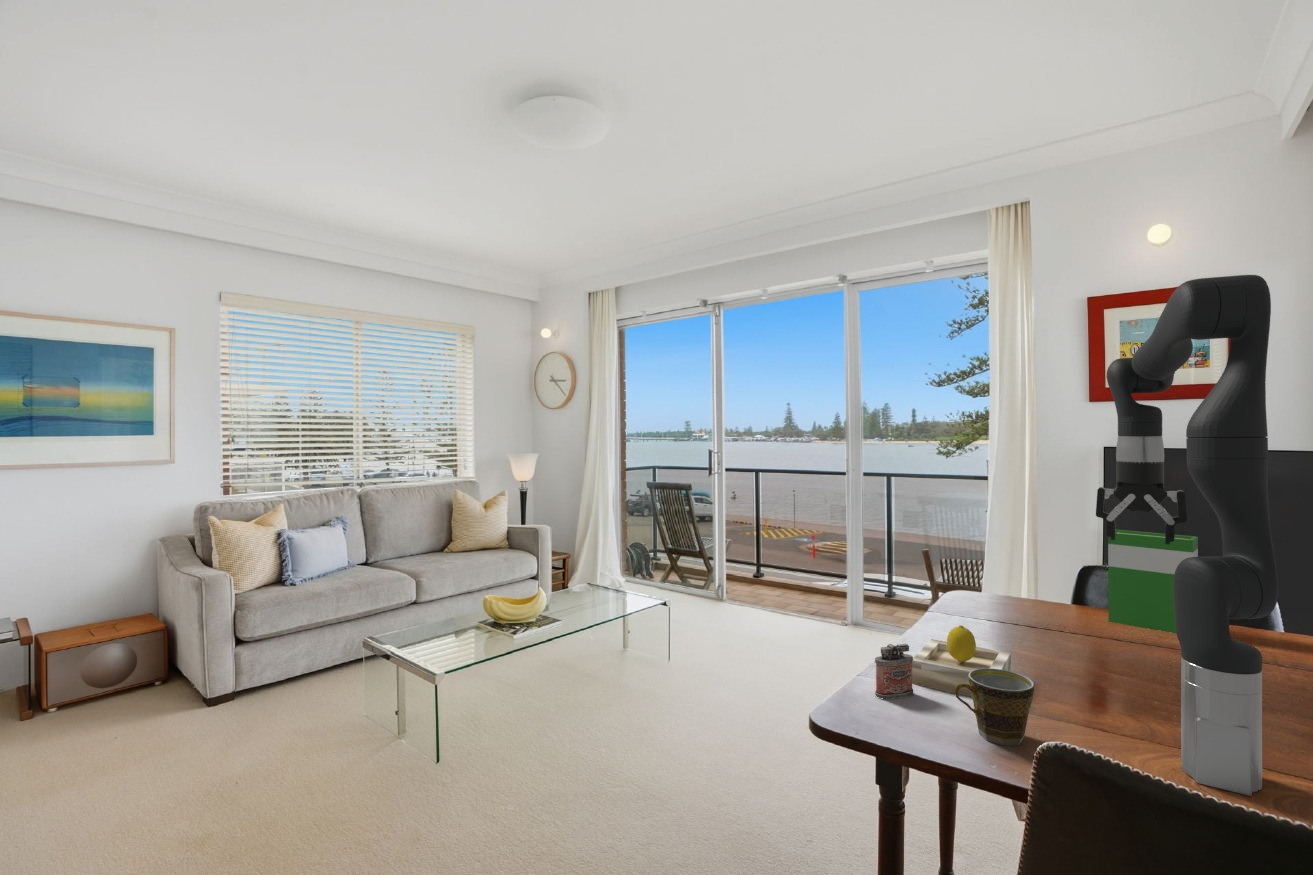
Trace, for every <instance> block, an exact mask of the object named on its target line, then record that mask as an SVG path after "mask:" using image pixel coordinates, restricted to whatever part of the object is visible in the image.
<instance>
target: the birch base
mask: <svg viewBox="0 0 1313 875" xmlns="http://www.w3.org/2000/svg"><path fill="white" fill-rule="evenodd" d="M986 668H989V669H1001V670H1007V671H1011V672H1012V653H1011V652H1007V651H1002V650H996V649H991V648H985V647H984V648H983V647H979V646H976V650H975V654H974V656H973V657H972V658H971V659H970V660H968V661H965V662H964V663H959V661H958V660H956V659H954V658H953V657H952V656H951V655H950V653H949V652H948V649H947V641H945V640H944V641H943V640H939V639H933V638H931V639H930V640H929V641H928V642H927V643H926V644H925V645H924V646H923V647H922V649H920V650H919V651H918V652H917V653H916V654H915V655H914V656H913V662H912V685H918V686H923V687H927V688H930V689H935V690H940V691H944V692H950V693H954V694H955V688H956V686H957V685H958V684H960V683H966V684H968V685H970V684H969V677H968V675H969V673H970V672H971V671H973V670H976V669H986ZM958 695H963V696H967V697H971V698H972V694H971V692H970V690H969V689H968V688H960V689H959V690H958Z"/></svg>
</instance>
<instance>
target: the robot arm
mask: <svg viewBox="0 0 1313 875" xmlns="http://www.w3.org/2000/svg"><path fill="white" fill-rule="evenodd" d="M1271 314H1272V300H1271V292H1270V287H1269V286H1268V282H1267V281H1266V280H1265V279H1264V278H1263V277H1262V276H1260V275H1258V274H1241V275H1239V274H1238V275H1228V276H1227V275H1226V276H1215V277H1214V276H1213V277H1201V278H1196V279H1195V278H1194V279H1190V280H1187V281H1184V282H1183V283H1181V284H1180V285H1179V286H1178V287H1177V288H1176V289H1175V290H1174V291H1173V292H1172V293H1171V295H1170V296H1169V298H1168V300H1167V302H1166V304H1165V306H1164V308H1163V310H1162V312H1161V314H1160V315H1159V318H1158V320H1157V322H1156V324H1155V327H1154V329H1153V331H1152V333H1151V334H1150V336H1149V337H1148V338H1147V339H1146V340H1145V342H1143V343H1142V345H1141V346H1140V347H1138V349H1137V350H1136V351H1135V352H1134V354H1133V355H1132V357H1121V358H1116V359H1114V360H1112V362H1110V364H1109V366H1108V367H1107V370H1106V381H1107V385H1108V388H1109V389H1110V390H1109V391H1110V392H1111V396H1112V398H1113V402H1114V406H1115V410H1116V415H1117V441H1116V446H1115V447H1116V449H1115V451H1116V453H1115V458H1116V459H1115V460H1116V461H1115V464H1116V465H1115V468H1116V469H1115V470H1116V472H1115V476H1116V477H1115V478H1116V480H1115V481H1116V482H1115V483H1116V485H1115V488H1108V487H1107V488H1105V487H1103V486H1099V488H1097V490H1096V491H1097V492H1096V504H1095V505H1096V507H1095V516H1096V517H1097V518H1100V519H1103V520H1104V521H1105V522H1106V536H1107V538H1108V537H1111V540H1115V539H1116V530H1117V528H1116V527H1117V526H1116V518H1117V517H1118V516H1119V515H1120V514H1121V513H1123V511H1124V510H1125V509H1126V510H1128V511H1130V512H1138V511H1140V512H1145V513H1146V512H1147V513H1150V512H1154V511H1155V512H1156V513H1157V514H1158V516H1160V517H1161V518H1162V519H1163V521H1164V522H1165V524H1164V534H1165V544H1166V545H1170V542H1173V541H1174V535H1175V527H1176V525H1178V524H1182V523H1187V521H1188V515H1187V505H1186V504H1187V502H1186V493H1185V491H1184V490H1182V489H1178V490H1168V491H1167V490H1166V489H1165V456H1166V455H1165V447H1164V445H1165V444H1164V439H1163V412H1162V410H1161V408H1160V407H1158V406H1154V405H1150V404H1149V405H1148V404H1143V403H1139V402H1137V401H1136V400H1135V399H1134V397H1133V395H1132V394H1156V393H1157V394H1159V393H1162V392H1165V391H1167V390H1169V389H1170V388H1171V387H1172V384H1173V383H1174V377H1175V374H1176V372H1177V371H1178V370H1179V369H1180V368H1181V367H1184V365H1185V364H1186V363H1187V362H1188V361H1189V360H1190V357H1191V356H1192V353H1193V350H1194V348H1193V346H1194V345H1193V342H1192V340H1196V341H1197V340H1199V341H1200V340H1201V341H1202V340H1217V339H1229V353H1228V357H1227V361H1226V364H1225V368H1224V370H1223V372H1222V374H1221V375H1220V377H1219V379H1218V381H1217V382H1216V383H1215V385H1214V386H1213V387H1212V389H1211V390H1210V391H1209V392H1208V394H1207V395H1206V396H1205V398H1204V399H1203V400H1202V401H1201V402H1200V404H1199V405H1198V407H1197V408H1196V410H1195V411H1194V412H1193V413H1192V416H1191V417H1190V419H1189V421H1188V422H1187V425H1186V431H1185V433H1186V435H1185V437H1186V440H1185V441H1186V443H1185V444H1186V464H1187V466H1186V467H1187V470H1188V473H1189V475H1190V477H1191V479H1192V481H1193V482H1194V484H1195V486H1196V488H1197V489H1198V490H1199V492H1200V493H1201V494H1202V496H1203V498H1204V499H1205V500H1206V501H1207V502H1208V504H1209V506H1210V508H1212V510H1213V512H1214V513H1215V515H1216V517H1217V520H1218V523H1219V526H1220V531H1221V539H1222V541H1221V542H1222V555H1221V556H1198V557H1190V558H1186V559H1184V560H1183V561H1181V562H1180V563H1179V565H1178V566H1177V568H1176V570H1175V573H1174V579H1173V597H1174V610H1175V626H1176V637H1177V640H1178V642H1179V645H1180V652H1181V653H1180V661H1181V662H1180V667H1181V668H1180V669H1181V671H1180V672H1181V673H1180V687H1181V688H1180V709H1181V710H1180V711H1181V713H1180V729H1181V730H1180V736H1181V737H1180V742H1181V744H1180V746H1181V748H1180V749H1181V750H1180V752H1181V753H1180V754H1181V763H1180V764H1181V769H1182V770H1183V771H1184V772H1185V774H1187V775H1189V777H1192V779H1194V781H1195V783H1197V784H1200V785H1205V786H1208V787H1211V788H1212V787H1213V788H1216V789H1220V790H1224V791H1229V792H1233V793H1237V794H1241V795H1245V796H1249V797H1251V796H1253V793H1256V792H1259V791H1260V790H1262V788H1263V655H1262V653H1261V651H1260V650H1259V649H1258V647H1255V646H1254V645H1251V644H1250V643H1247V642H1244V641H1241V640H1238V639H1235V638H1233V637H1232V633H1231V628H1230V620H1252V619H1253V620H1256V619H1257V620H1258V619H1262V618H1266V617H1267V616H1269V615H1270V614H1271V613H1273V611H1274V609H1275V608H1276V605H1277V604H1278V599H1279V578H1278V571H1277V564H1276V562H1277V561H1276V556H1275V551H1274V544H1273V536H1272V531H1271V519H1270V507H1269V506H1270V505H1269V504H1270V503H1269V488H1268V487H1269V486H1268V477H1269V476H1268V473H1269V472H1268V471H1269V438H1268V434H1269V433H1268V419H1267V401H1266V400H1267V398H1266V395H1267V394H1266V390H1267V388H1266V381H1267V380H1266V379H1267V377H1266V376H1267V375H1266V374H1267V360H1268V350H1269V337H1270V330H1271V316H1272V315H1271ZM1111 495H1113V496H1114V498H1116V499H1117V500H1118V502H1119V503H1118V504H1117V505H1116V506H1115V507H1114V508H1113V509H1112V510H1111V511H1110V512H1109V513H1108V512H1105V502H1106V501H1105V500H1108V499H1110V496H1111ZM1167 497H1168V498H1170V499H1171V501H1172V502H1174V503H1176V504H1177V516H1172V515H1171V514H1170V513H1169V512H1168V511H1167V510H1166V508H1165V507H1164V506H1162V502H1164V501H1165V499H1167ZM1258 790H1259V791H1258Z"/></svg>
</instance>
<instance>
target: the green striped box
mask: <svg viewBox="0 0 1313 875" xmlns="http://www.w3.org/2000/svg"><path fill="white" fill-rule="evenodd" d="M1107 538H1108V539H1107V541H1108V542H1107V545H1108V547H1107V550H1108V552H1107V553H1108V555H1107V557H1108V560H1107V561H1108V569H1107V571H1108V573H1107V574H1108V577H1107V579H1108V581H1107V582H1108V583H1107V584H1108V588H1107V590H1108V600H1107V601H1108V606H1107V607H1108V609H1107V610H1108V622H1109V623H1114V624H1118V623H1119V625H1125V626H1130V627H1137V628H1143V629H1147V628H1149V629H1148V630H1152V629H1153V630H1152V631H1158V630H1161V631H1160V632H1164V631H1165V633H1169V632H1172V633H1171V634H1174V635H1175V634H1176V626H1175V610H1174V597H1173V579H1174V573H1175V570H1176V568H1177V566H1178V565H1179V563H1180V562H1181V561H1183V560H1184V559H1186V558H1190V557H1199V537H1198V536H1194V535H1193V536H1192V535H1184V534H1183V535H1182V534H1174V541H1173V542H1170V545H1166V544H1165V533H1162V532H1161V533H1159V532H1147V531H1138V530H1137V531H1135V530H1127V529H1125V530H1124V529H1116V539H1115V540H1111V537H1108V536H1107ZM1176 635H1177V634H1176Z"/></svg>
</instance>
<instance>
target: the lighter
mask: <svg viewBox="0 0 1313 875" xmlns="http://www.w3.org/2000/svg"><path fill="white" fill-rule="evenodd" d="M904 652H906V653H904ZM907 652H910V644H908V643H900V644H895V645H894V644H892V643H888V644H887V645H886V646H882V647H880V654H881V655H880V656H876V657H875V658H874V663H875V691H874V696H875V695H876V696H877V697H880V698H883V699H882V700H884V699H885V700H896V699H895V698H898V699H904V698H909V697H911V696H914V689H913V684H912V662H913V658H914V656H913V655H911V654H908V653H907ZM876 696H875V697H876ZM877 697H876V698H877ZM901 697H902V698H901ZM903 697H904V698H903ZM892 698H894V699H892Z"/></svg>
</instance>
